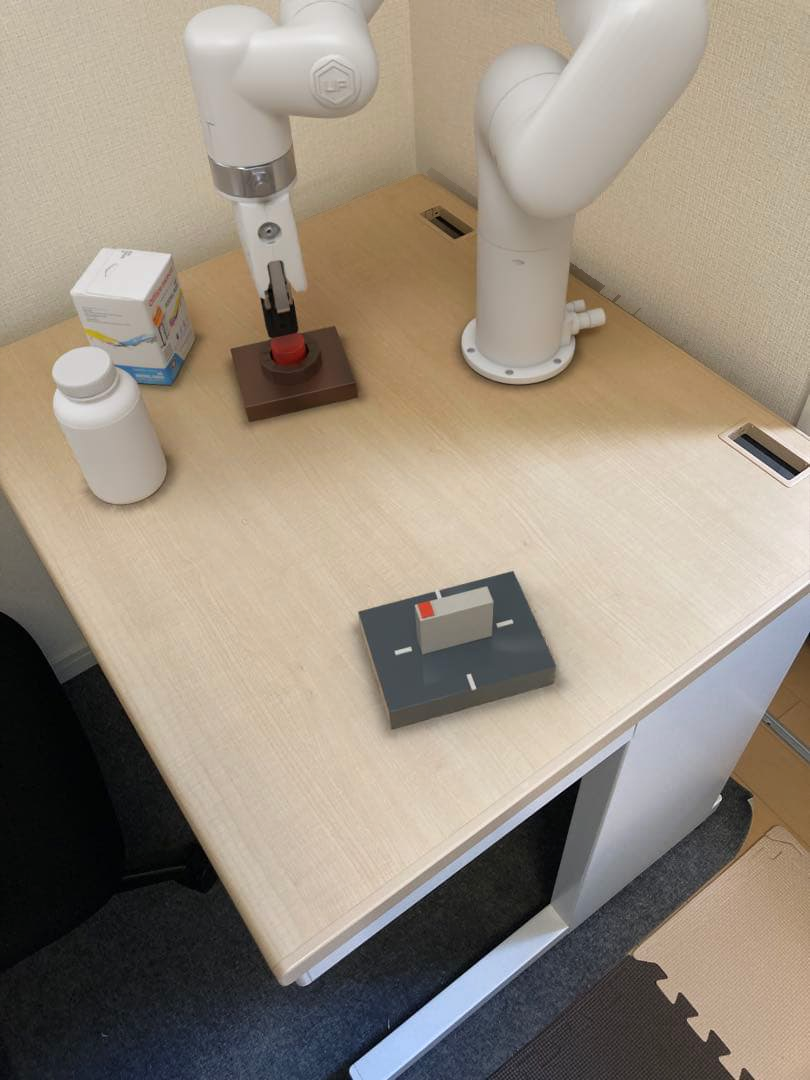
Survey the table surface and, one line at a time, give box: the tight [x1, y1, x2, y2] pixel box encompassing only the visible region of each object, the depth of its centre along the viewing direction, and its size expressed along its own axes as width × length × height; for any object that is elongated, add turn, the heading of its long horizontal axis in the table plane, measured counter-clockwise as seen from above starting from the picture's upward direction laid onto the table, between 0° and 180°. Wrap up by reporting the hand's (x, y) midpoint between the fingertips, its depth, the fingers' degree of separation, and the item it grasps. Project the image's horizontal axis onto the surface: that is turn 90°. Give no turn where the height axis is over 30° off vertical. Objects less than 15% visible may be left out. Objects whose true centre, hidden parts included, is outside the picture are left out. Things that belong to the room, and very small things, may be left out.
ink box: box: [69, 247, 196, 386], centre depth 99 cm, size 9×8×12 cm
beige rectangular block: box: [415, 586, 493, 654], centre depth 73 cm, size 6×2×5 cm, turn 106°
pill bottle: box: [51, 346, 168, 505], centre depth 87 cm, size 8×8×15 cm
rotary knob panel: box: [357, 570, 557, 731], centre depth 76 cm, size 14×10×3 cm
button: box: [271, 332, 306, 365], centre depth 97 cm, size 4×4×2 cm
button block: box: [230, 325, 359, 423], centre depth 99 cm, size 12×10×4 cm
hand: (282, 330), depth 95 cm, fingers closed
